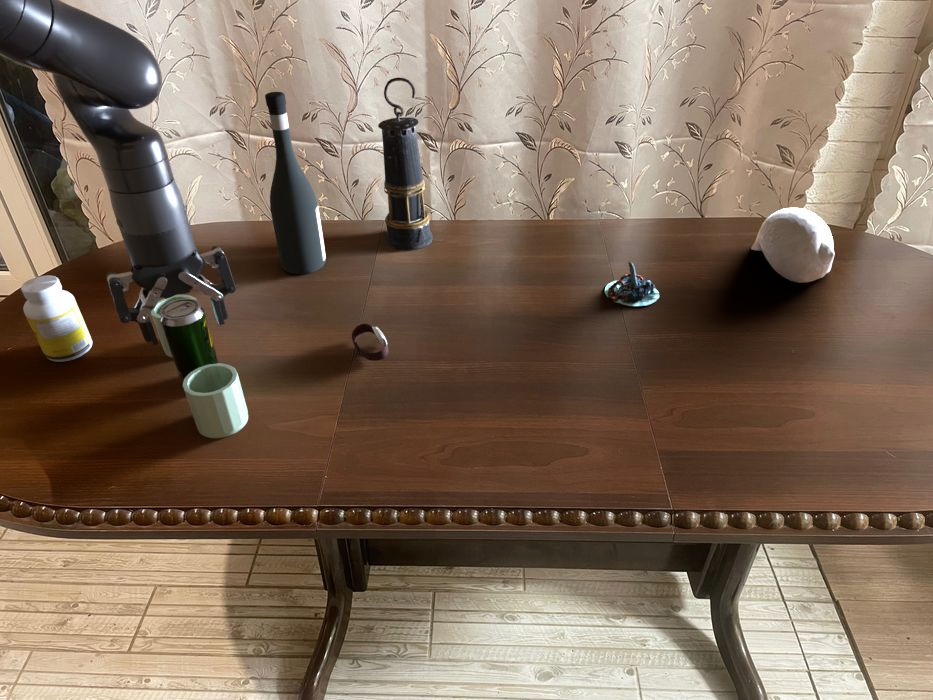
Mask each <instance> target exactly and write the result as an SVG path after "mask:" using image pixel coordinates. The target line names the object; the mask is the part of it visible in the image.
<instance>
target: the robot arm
mask: <svg viewBox="0 0 933 700" xmlns="http://www.w3.org/2000/svg"><path fill="white" fill-rule="evenodd" d="M0 56H1V57H3V58H5V59H7V60H9V61H11V62H13V63H15V64H17V65H20V66H22V67H26V68H28V69H31V70H35V71H40V72H44V73H50V74H51V75H52V79H53V82H54V85H55V87H56V90H57V92H58V94H59V96H60V98H61V99H62V102H63V104H64V105H65V106H66V108H67V109H68V112H69V113H70V114H71V116H72V118H73V120H74V121H75V123H76V124H77V126H78V127H79V129H80V131H81V133H82V134H83V135H84V137H85V138H86V139H87V141H88V142H89V144H90V145H91V147H92V148H93V150H94V151H95V153H96V156H97V160H98V164H99V166H100V169H101V172H102V175H103V179H104V181H105V184H106V186H107V190H108V194H109V199H110V204H111V208H112V211H113V214H114V217H115V222H116V225H117V226H118V228H119V231H120V235H121V237H122V240H123V242H124V246H125V249H126V252H127V254H128V258H129V259H130V263H131V269H130V271H126V272H121V273H116V272H115V271H109V272H107V274H106V276H105V277H106V281H107V284H108V287H109V291H110V293H111V297H112V300H113V304H114V307H115V309H116V312H117V315H118V318H119V322H121V323H122V324H128V323H129V322H136V323H137V324H138V326H139V328H140V331H141V334H142V337H143V340H144V341H145V342H146V343H147V344H148V343H151V344H152V346H156V345H159V340H158V338H157V335H156V331H155V329H154V326H153V323H152V320H151V318H150V316H151V311H152V309H154V308H155V306H156V304H157V302H158V301H159V300H160V298H161V299H163V298H164V299H167V298H171V297H173V296H175V295H186V294H189V293H191V290H193V289H195V290H196V291H198V292H200V293H201V294H202V295H206V296H207V297H209V301H210V304H211V309H212V311H213V315H214V318H215V321H216V322H217V324H218V326H222V325H225V324H226V323H225V321H226V320H228V316H229V315H228V312H227V306H226V303H225V297H226V296H227V295H229V294H234V293H235V292H237V291H236V290H237V287H236V285H235V281H234V277H233V275H232V272H231V269H230V264H229V263H228V259H227V255H226V254H225V253H224V251H223V250H222V248H221V247H220V246H219V245H214V246H213V245H212V247H211V249H210V251H206V252H203V253H200V252H199V251H198V250H197V247H196V243H195V240H194V235H193V232H192V229H191V225H190V222H189V218H188V215H187V212H188V211H187V208H186V205H185V203H184V200H183V196H182V194H181V192H180V189H179V187H178V185H177V182H176V179H175V177H174V173H173V169H172V166H171V161H170V158H169V156H168V151H167V148H166V144H165V142H164V139H163V137H162V135H161V134H160V133H159V131H158V130H156V129H155V128H153V127H152V126H149V125H148V124H145V123H143V122H141V121H140V120H138V119H137V118H136V117H134V115H133V114H132V112H131V111H130V110H138V109H143V108H145V107H148V106H149V105H151V104H152V103H154V102H155V101H156V99H157V98H158V97H159V95H160V93H161V91H162V86H163V75H162V71H161V67H160V65H159V62H158V60H157V59H156V57H155V55H154V54H153V53H152V51H151V50H150V49H149V48H148V47H147V45H145V44H144V43H143V41H141V40H140V39H138V38H137V37H136V36H134V35H133V34H131V33H130V32H128V31H126V30H125V29H122V28H121V27H119V26H116V25H115V24H113V23H111V22H108V21H106V20H104V19H103V18H100V17H97V16H95V15H94V14H91V13H89V12H87V11H84V10H82V9H80V8H77V7H75V6H72V5H70V4H68V3H66V2H64V1H62V0H0ZM205 264H209V265H210V267H211V268H213V269H216V270H217V273H218V276H219V280H220V282H219V283H217V284H215V283H213V282H211V281H210V280H208V279H207V278H206V277H205V276H204V275H202V274H201V273H202V272H203V269H204V268H205ZM131 283H134V284H136V285H138V286H139V287H141V289H140V292H139V294H138V299H137V301H136V303H135V306H134V307H129V306H128V304H127V300H126V296H125V293H126V292H128V291H129V289H130V284H131Z"/></svg>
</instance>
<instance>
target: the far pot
mask: <svg viewBox="0 0 933 700" xmlns="http://www.w3.org/2000/svg"><path fill="white" fill-rule="evenodd" d="M178 299H194V300H197V298H196V297H194V296H192V295H188V294H176V295H175V296H173V297H171V298H167V299H164V298H161V299H159V300H158V302H157V304H156V306H155V308H154V309H152V311H151V313H150V316H151V319H152V322H153V324H154V328H155V330H156V333H157V336H158V339H159V341H160V345H161V348H162V350H163V353H164V354H165V355H166V356H167V357H169V358H173V356H172V353H171V350H170V347H169V345H168V342H167V339H166V336H165V333H164V330H163V327H162V324H161V321H160V318H161V315H160V310H161V308H162V307H163V306H164V305H166V304H167V303H169V302H172V301H175V300H178Z"/></svg>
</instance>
